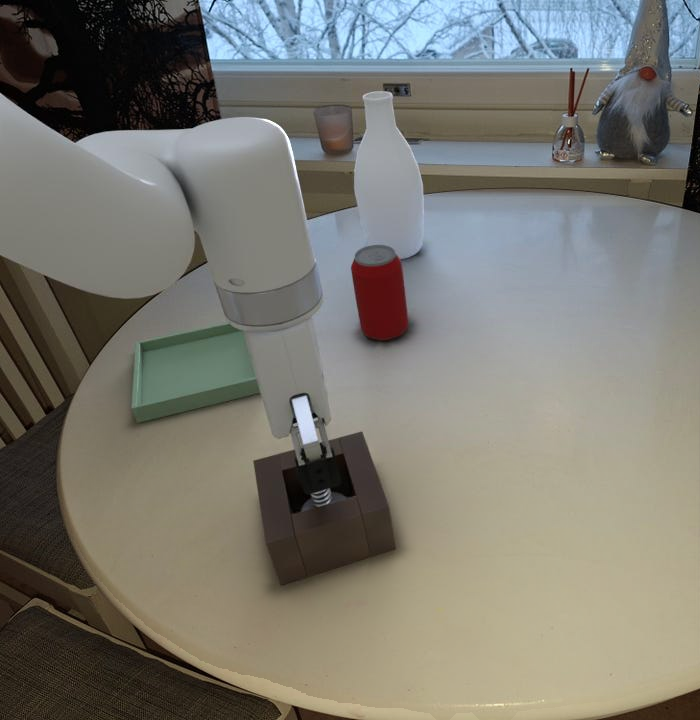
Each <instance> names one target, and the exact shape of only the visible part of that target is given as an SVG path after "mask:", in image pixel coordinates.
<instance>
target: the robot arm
mask: <svg viewBox="0 0 700 720" xmlns="http://www.w3.org/2000/svg"><path fill="white" fill-rule="evenodd" d="M195 233H196V234H197V235H198V237H199V240H200V243H201V246H202V249H203V252H204V255H205V258H206V262H207V264H208V267H209V271H210V274H211V277H212V280H213V283H214V287H215V290H216V292H217V295H218V299H219V302H220V305H221V309H222V311H223V314H224V318H225V321H226V322H228V323H229V324H230V325H231V326H233V327H235V328H237V329H239V330H243V331H244V335H245V340H246V344H247V348H248V352H249V355H250V359H251V363H252V366H253V369H254V373H255V376H256V380H257V383H258V386H259V390H260V393H259V394H260V397H261V400H262V403H263V407H264V410H265V413H266V417H267V421H268V424H269V427H270V431H271V435H272V436H273V438H275V439H277V440H281V439H282V438H287V437H289V436H290V437H291V440H292V441H291V442H292V445H293V448H294V449H295V452H296V456H297V458H294V459H295V463H296V467H297V470H298V473H299V477H300V480H301V484H302V487H303V491H304V493H305V494H307V495H308V494H312V493H316V492H319V491H322V490H326V489H329V488H333V487H336V486H339V485H340V484H341V478H340V474H339V470H338V466H337V461H336V457H335V453H334V449H333V447H332V448H330V445H329V441H328V440H329V437H328V433H327V429H326V427H327V426H328V425H329V424H330V423H331V421H332V416H331V409H330V403H329V402H330V401H329V395H328V389H327V383H326V377H325V372H324V366H323V360H322V357H321V352H320V346H319V342H318V338H317V332H316V327H315V323H314V318H313V316H314V315H315V314H317V313H318V312H319V310H320V309H321V308H322V306H323V303H324V299H325V298H324V292H323V288H322V283H321V279H320V274H319V269H318V265H317V260H316V256H315V251H314V246H313V241H312V235H311V232H310V228H309V223H308V218H307V214H306V209H305V204H304V200H303V194H302V190H301V185H300V180H299V176H298V171H297V166H296V162H295V157H294V152H293V149H292V145H291V141H290V139H289V137H288V135H287V133H286V132H285V131H284V129H283V128H282V127H281V126H280V125H278V124H277V123H275V122H273V121H271V120H270V119H267V118H260V117H253V116H252V117H251V116H237V117H227V118H221V119H216V120H212V121H208V122H205V123H202V124H199V125H197V126H194V127H193V128H184V129H183V128H182V129H132V130H130V129H127V130H125V129H124V130H110V131H108V130H107V131H102V132H98V133H93V134H91V135H88V136H85V137H83V138H81V139H79V140H77V141H76V142H74V141H72V140H71V139H69V138H67V137H65V136H64V135H62V134H61V133H59V132H57V131H56V130H55V129H53V128H51V127H50V126H48V125H46V124H45V123H43V122H42V121H40V120H39V119H37V118H36V117H34V116H32V115H31V114H29V113H28V112H27V111H26V110H24V109H23V108H21V107H20V106H18V105H17V104H15V103H14V102H12V101H11V100H10V99H9V98H7V97H6V96H5V95H3V94H2V93H1V92H0V256H1V257H4V258H5V259H8V260H10V261H12V262H14V263H16V264H18V265H21V266H23V267H26V268H28V269H30V270H32V271H35V272H36V273H39V274H41V275H43V276H46V277H47V278H49V279H52V280H55V281H57V282H60V283H62V284H65V285H67V286H70V287H73V288H75V289H78V290H80V291H83V292H86V293H90V294H94V295H98V296H103V297H107V298H111V299H112V298H113V299H125V300H128V299H142V298H146V297H150V296H153V295H157V294H159V293H161V292H163V291H165V290H167V289H169V288H170V287H172V286H173V285H174V284H176V283H177V282H178V281H179V280H180V279H181V277H183V275H184V274H185V273H186V271H187V269H188V267H189V265H190V264H191V262H192V259H193V255H194V252H195V247H196V246H195V245H196V235H195ZM314 419H317V420H314ZM294 424H297V425H295V426H294ZM317 429H318V432H317ZM298 433H300V435H301V439H302V443H303V447H304V448H302V447H301V443H300V440H299V436H298ZM318 433H319V436H320V439H319V437H318ZM320 440H321V442H322V443H320ZM322 444H323V445H322ZM294 449H293V450H294Z"/></svg>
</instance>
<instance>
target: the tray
mask: <svg viewBox="0 0 700 720" xmlns="http://www.w3.org/2000/svg"><path fill="white" fill-rule="evenodd" d="M133 361H134V362H133V376H132V392H131V393H132V394H131V407H130V408H131V411H132V413H133V416H134V418H135V420H136V422H137V423H138V424H139V423H143V422H148V421H151V420H156V419H160V418H163V417H168V416H172V415H176V414H180V413H184V412H188V411H192V410H197V409H201V408H204V407H208V406H209V407H210V406H214V405H217V404H221V403H222V404H223V403H225V402H230V401H233V400H238V399H242V398H246V397H251V396H254V395H257V394H258V395H259V394H261V393H260V390H259V386H258V383H257V380H256V376H255V373H254V369H253V366H252V363H251V359H250V355H249V352H248V348H247V344H246V340H245V335H244V331H243V330H239V329H237V328H235V327H233V326H231V325H230V324H229V323H228V322H227V321H226V322H222V323H216V324H213V325H212V324H211V325H207V326H203V327H199V328H193V329H189V330H184V331H179V332H174V333H170V334H165V335H161V336H157V337H152V338H147V339H143V340H137V341H135V346H134V360H133Z"/></svg>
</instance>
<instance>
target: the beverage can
mask: <svg viewBox="0 0 700 720" xmlns="http://www.w3.org/2000/svg"><path fill="white" fill-rule="evenodd" d="M353 256H354V258H353V261H352V263H351V267H350V271H351V277H352V284H353V290H354V296H355V303H356V309H357V315H358V320H359V325H360V330H361V333H362V334H363V335H365V336H366V337H368V338H371V339H375V340H378V341H379V340H380V341H386V340H387V341H388V340H391V339H394V338H397V337H399V336H400V335H402V334H404V332H406V330H407V329H408V327H409V315H408V305H407V304H408V303H407V296H406V295H407V294H406V287H405V279H404V278H405V277H404V271H403V263H402V259H399V257H398V256H397V255H396V253H395V250H394V249H393V248H391V247H389V246H385V245H371V246H368V245H366V246H363V247H361V248H360V249H358V250H356V252H355V253H354V255H353Z"/></svg>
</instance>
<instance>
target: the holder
mask: <svg viewBox="0 0 700 720" xmlns="http://www.w3.org/2000/svg"><path fill="white" fill-rule="evenodd" d="M328 441H329V445H330V448H332V447H333V449H334V453H335V457H336V461H337V466H338V470H339V474H340V478H341V484H340V485H339V486H336V487H333V488H330V490H331V492H337V493H340V494H342V495H344V496H345V497H346V499H343V500H340V501H336V502H333V503H329V504H326V505H323V506H319V507H316V508H312V509H309V510H306V511H302V512H301V509H302V507H303V505H304V504H305V503H306V502H307V501H308V500H309V499H310V498H312V496H311V494H308V495H307V494H305V493H304V491H303V487H302V484H301V480H300V477H299V473H298V470H297V467H296V463H295V459H294V458H297V456H296V452H295V449H291V450H287V451H283V452H280V453H277V454H272V455H269V456H265V457H261V458H258V459H254V460H253V461H252V463H253V469H254V475H255V482H256V489H257V495H258V501H259V508H260V515H261V522H262V528H263V533H264V542H265V546H266V549H267V552H268V554H269V557H270V561H271V563H272V566H273V569H274V572H275V574H276V577H277V581H278V583H279V586H283V585H287V584H290V583H293V582H296V581H298V580H299V581H300V580H302V579H305V578H307V577H311V576H315V575H318V574H321V573H325V572H326V571H330V570H332V569H336V568H340V567H342V566H346V565H349V564H352V563H355V562H358V561H361V560H364V559H367V558H371V557H375V556H377V555H380V554H381V555H382V554H385V553H386V552H390V551H393V550H396V549H397V545H396V540H395V534H394V527H393V522H392V517H391V509H390V505H389V502H388V500H387V497H386V494H385V492H384V489H383V486H382V483H381V480H380V477H379V474H378V471H377V469H376V466H375V464H374V460H373V458H372V455H371V452H370V450H369V446H368V443H367V441H366V438H365V435H364V432H363V431H358V432H353V433H351V434H347V435H343V436H339V437H336V438H332V439H328ZM319 443H322V441H321V442H320V441H319ZM322 445H323V444H322ZM348 496H349V497H348ZM297 511H299V512H297Z"/></svg>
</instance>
